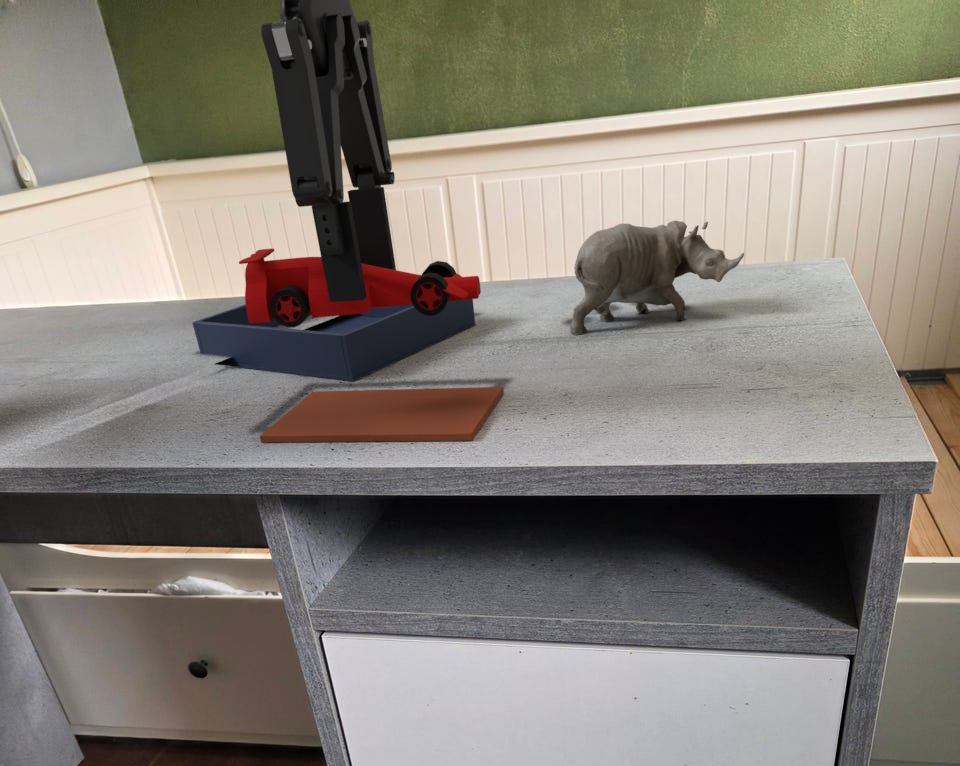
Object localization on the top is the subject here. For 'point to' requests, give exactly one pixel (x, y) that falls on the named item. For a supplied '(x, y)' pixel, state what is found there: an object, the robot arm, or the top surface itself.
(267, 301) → the toy car
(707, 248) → the rhinoceros figurine
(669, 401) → the top surface
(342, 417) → the mat
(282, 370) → the blue tray
